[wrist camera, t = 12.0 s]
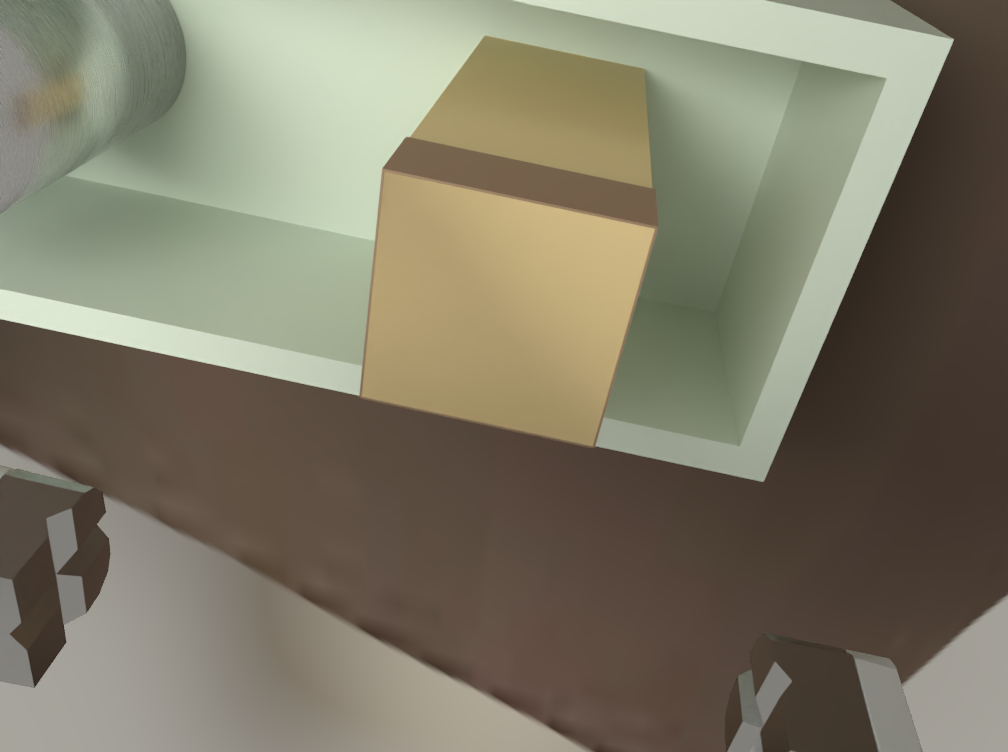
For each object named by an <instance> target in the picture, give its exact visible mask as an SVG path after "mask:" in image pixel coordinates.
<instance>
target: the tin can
mask: <svg viewBox="0 0 1008 752" xmlns="http://www.w3.org/2000/svg"><path fill="white" fill-rule="evenodd" d="M185 72H186V47H185V41H184V36H183V31H182V28H181V25H180V22H179V19H178V17H177V14H176V12H175V10H174V8H173V6H172V4H171V2H170V0H0V214H1V213H3V212H5V211H6V210H8V209H10V208H11V207H13V206H15V205H16V204H18V203H20V202H21V201H23V200H25V199H26V198H28V197H30V196H31V195H33V194H35V193H37V192H38V191H40V190H42V189H43V188H45V187H47V186H48V185H50V184H52V183H53V182H55V181H57V180H58V179H60V178H62V177H63V176H65V175H67V174H68V173H70V172H72V171H73V170H75V169H77V168H78V167H80V166H82V165H84V164H85V163H87V162H89V161H90V160H92V159H94V158H95V157H97V156H99V155H100V154H102V153H104V152H105V151H107V150H109V149H110V148H112V147H114V146H115V145H117V144H119V143H120V142H122V141H124V140H126V139H127V138H129V137H131V136H132V135H134V134H136V133H137V132H139V131H141V130H142V129H144V128H146V127H147V126H149V125H151V124H152V123H154V122H156V121H157V120H158V119H160V118H161V117H163V116H164V115H165V114H166V113H167V112H168V111H169V110H170V108H171V107H172V106H173V104H174V103H175V101H176V100H177V98H178V96H179V94H180V92H181V89H182V85H183V82H184V78H185Z"/></svg>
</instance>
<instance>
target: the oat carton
mask: <svg viewBox="0 0 1008 752" xmlns="http://www.w3.org/2000/svg"><path fill="white" fill-rule="evenodd" d="M657 230H658V214H657V200H656V189H652V176H651V161H650V146H649V131H648V116H647V101H646V86H645V71H644V69H643V68H638V67H634V66H629V65H624V64H619V63H615V62H610V61H605V60H600V59H595V58H591V57H586V56H581V55H576V54H572V53H567V52H562V51H557V50H552V49H548V48H543V47H538V46H533V45H529V44H524V43H519V42H514V41H509V40H505V39H500V38H495V37H490V36H486V35H485V36H484V37H483V39H482V40H481V41H480V43H479V44H478V45H477V47H476V48H475V49H474V51H473V52H472V54H471V55H470V56H469V58H468V59H467V60H466V62H465V63H464V64H463V66H462V67H461V68H460V70H459V71H458V73H457V74H456V75H455V77H454V78H453V79H452V81H451V82H450V83H449V85H448V86H447V88H446V89H445V90H444V92H443V93H442V94H441V96H440V97H439V98H438V100H437V101H436V102H435V104H434V105H433V107H432V108H431V109H430V111H429V112H428V113H427V115H426V116H425V117H424V119H423V120H422V121H421V123H420V124H419V126H418V127H417V128H416V130H415V131H414V132H413V134H412V135H411V136H410V137H405V139H404V140H403V141H402V143H401V144H400V145H399V147H398V148H397V149H396V151H395V152H394V153H393V155H392V156H391V157H390V159H389V160H388V161H387V163H386V164H385V165H384V167H383V168H382V175H381V185H380V195H379V205H378V215H377V225H376V235H375V245H374V255H373V264H372V274H371V284H370V294H369V304H368V314H367V324H366V334H365V344H364V354H363V364H362V374H361V384H360V393H359V398H361V399H365V400H370V401H375V402H379V403H384V404H389V405H393V406H398V407H403V408H407V409H412V410H417V411H421V412H426V413H431V414H435V415H440V416H445V417H449V418H454V419H458V420H463V421H468V422H472V423H477V424H482V425H486V426H491V427H496V428H500V429H505V430H510V431H514V432H519V433H524V434H528V435H533V436H538V437H542V438H547V439H552V440H556V441H561V442H566V443H570V444H575V445H580V446H584V447H589V448H594V449H595V445H596V442H597V438H598V435H599V431H600V428H601V424H602V421H603V417H604V414H605V411H606V407H607V404H608V400H609V397H610V393H611V390H612V386H613V383H614V379H615V376H616V372H617V369H618V365H619V362H620V359H621V355H622V352H623V348H624V345H625V341H626V338H627V334H628V331H629V327H630V324H631V320H632V317H633V313H634V310H635V307H636V303H637V300H638V296H639V293H640V289H641V286H642V282H643V279H644V275H645V272H646V268H647V265H648V262H649V258H650V255H651V251H652V248H653V244H654V241H655V237H656V234H657Z"/></svg>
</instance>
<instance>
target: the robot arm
mask: <svg viewBox="0 0 1008 752" xmlns="http://www.w3.org/2000/svg"><path fill="white" fill-rule="evenodd" d="M105 513H106V510H105V504H104V498H103V492H102V491H100V490H98V489H96V488H94V487H89V486H85V485H81V484H77V483H73V482H69V481H65V480H61V479H57V478H53V477H48V476H44V475H40V474H36V473H31V472H28V471H24V470H19V469H12V468H9V467H4V466H0V681H2V682H7V683H12V684H17V685H22V686H28V687H33V688H34V687H35V686H36V685H37V683H38V682H39V680H40V679H41V678H42V676H43V675H44V673H45V672H46V670H47V669H48V668H49V666H50V665H51V663H52V662H53V661H54V659H55V658H56V656H57V655H58V653H59V652H60V651H61V649H62V648H63V646H64V645H65V643H66V638H65V630H64V624H66V623H68V622H70V621H72V620H74V619H76V618H78V617H80V616H82V615H84V614H86V613H87V611H88V610H89V608H90V607H91V605H92V604H93V602H94V601H95V599H96V598H97V596H98V595H99V593H100V590H101V587H102V585H103V583H104V580H105V577H106V575H107V572H108V567H109V559H110V545H109V538H108V537H107V536H106V535H105V534H104V532H103V531H102V530H101V529H100V528H99V527H98V525H97V523H98V522H99V520H100V519H101V518H102V516H103V515H104V514H105ZM750 659H751V667H752V669H751V670H749V671H747V672H745V673H743V674H741V675H739V676H738V677H737V679H736V681H735V683H734V686H733V688H732V690H731V692H730V695H729V700H728V705H727V710H726V715H725V745H726V752H922V748H921V745H920V742H919V739H918V736H917V733H916V729H915V726H914V723H913V720H912V717H911V714H910V710H909V707H908V704H907V701H906V698H905V694H904V691H903V688H902V685H901V682H900V679H899V676H898V672H897V669H896V666H895V665H894V664H893V663H892V662H891V660H890V659H889V658H884V657H879V656H875V655H870V654H865V653H860V652H855V651H851V650H843V649H842V648H837V647H832V646H827V645H822V644H818V643H813V642H808V641H803V640H798V639H793V638H789V637H784V636H779V635H774V634H769V633H763V634H762V635H760V636H759V637H758V638H757V639H756V641H755V643H754V645H753V647H752V649H751V651H750Z"/></svg>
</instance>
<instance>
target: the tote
mask: <svg viewBox="0 0 1008 752" xmlns="http://www.w3.org/2000/svg"><path fill="white" fill-rule="evenodd" d="M170 2H171V4H172V6H173V8H174V10H175V12H176V14H177V17H178V19H179V22H180V25H181V28H182V31H183V36H184V41H185V47H186V72H185V78H184V82H183V85H182V89H181V92H180V94H179V96H178V98H177V100H176V101H175V103H174V104H173V106H172V107H171V108H170V110H169V111H168V112H167V113H166V114H165V115H164V116H163V117H161V118H160V119H158V120H157V121H156V122H154V123H152V124H151V125H149V126H147V127H146V128H144V129H142V130H141V131H139V132H137V133H136V134H134V135H132V136H131V137H129V138H127V139H126V140H124V141H122V142H120V143H119V144H117V145H115V146H114V147H112V148H110V149H109V150H107V151H105V152H104V153H102V154H100V155H99V156H97V157H95V158H94V159H92V160H90V161H89V162H87V163H85V164H84V165H82V166H80V167H78V168H77V169H75V170H73V171H72V172H70V173H68V174H67V175H65V176H63V177H62V178H60V179H58V180H57V181H55V182H53V183H52V184H50V185H48V186H47V187H45V188H43V189H42V190H40V191H38V192H37V193H35V194H33V195H31V196H30V197H28V198H26V199H25V200H23V201H21V202H20V203H18V204H16V205H15V206H13V207H11V208H10V209H8V210H6V211H5V212H3V213H1V214H0V319H3V320H8V321H12V322H17V323H22V324H26V325H31V326H36V327H40V328H45V329H50V330H54V331H59V332H64V333H68V334H73V335H78V336H82V337H87V338H92V339H96V340H101V341H106V342H111V343H115V344H120V345H125V346H129V347H134V348H139V349H143V350H148V351H153V352H157V353H162V354H167V355H171V356H176V357H181V358H185V359H190V360H195V361H199V362H204V363H209V364H214V365H218V366H223V367H228V368H232V369H237V370H242V371H246V372H251V373H256V374H260V375H265V376H270V377H274V378H279V379H284V380H288V381H293V382H298V383H302V384H307V385H312V386H316V387H321V388H326V389H331V390H335V391H340V392H345V393H349V394H354V395H359V393H360V384H361V374H362V364H363V354H364V344H365V334H366V324H367V314H368V304H369V294H370V284H371V274H372V264H373V255H374V245H375V235H376V225H377V215H378V205H379V195H380V185H381V175H382V168H383V167H384V165H385V164H386V163H387V161H388V160H389V159H390V157H391V156H392V155H393V153H394V152H395V151H396V149H397V148H398V147H399V145H400V144H401V143H402V141H403V140H404V139H405V137H410V136H411V135H412V134H413V132H414V131H415V130H416V128H417V127H418V126H419V124H420V123H421V121H422V120H423V119H424V117H425V116H426V115H427V113H428V112H429V111H430V109H431V108H432V107H433V105H434V104H435V102H436V101H437V100H438V98H439V97H440V96H441V94H442V93H443V92H444V90H445V89H446V88H447V86H448V85H449V83H450V82H451V81H452V79H453V78H454V77H455V75H456V74H457V73H458V71H459V70H460V68H461V67H462V66H463V64H464V63H465V62H466V60H467V59H468V58H469V56H470V55H471V54H472V52H473V51H474V49H475V48H476V47H477V45H478V44H479V43H480V41H481V40H482V39H483V37H484V36H485V35H486V36H490V37H495V38H500V39H505V40H509V41H514V42H519V43H524V44H529V45H533V46H538V47H543V48H548V49H552V50H557V51H562V52H567V53H572V54H576V55H581V56H586V57H591V58H595V59H600V60H605V61H610V62H615V63H619V64H624V65H629V66H634V67H638V68H643V69H644V71H645V86H646V101H647V116H648V131H649V146H650V161H651V176H652V189H656V200H657V214H658V230H657V234H656V237H655V241H654V244H653V248H652V251H651V255H650V258H649V262H648V265H647V268H646V272H645V275H644V279H643V282H642V286H641V289H640V293H639V296H638V300H637V303H636V307H635V310H634V313H633V317H632V320H631V324H630V327H629V331H628V334H627V338H626V341H625V345H624V348H623V352H622V355H621V359H620V362H619V365H618V369H617V372H616V376H615V379H614V383H613V386H612V390H611V393H610V397H609V400H608V404H607V407H606V411H605V414H604V417H603V421H602V424H601V428H600V431H599V435H598V438H597V442H596V445H595V446H597V447H602V448H607V449H611V450H616V451H621V452H625V453H630V454H635V455H639V456H644V457H649V458H653V459H658V460H663V461H668V462H672V463H677V464H682V465H686V466H691V467H696V468H700V469H705V470H710V471H714V472H719V473H724V474H728V475H733V476H738V477H742V478H747V479H752V480H756V481H761V482H764V480H765V478H766V475H767V473H768V471H769V468H770V466H771V464H772V461H773V459H774V457H775V454H776V452H777V450H778V447H779V445H780V443H781V440H782V438H783V436H784V433H785V431H786V429H787V427H788V424H789V422H790V420H791V417H792V415H793V413H794V410H795V408H796V406H797V403H798V401H799V399H800V396H801V394H802V392H803V389H804V387H805V385H806V382H807V380H808V378H809V375H810V373H811V371H812V368H813V366H814V364H815V361H816V359H817V357H818V354H819V352H820V350H821V348H822V345H823V343H824V341H825V338H826V336H827V334H828V331H829V329H830V327H831V324H832V322H833V320H834V317H835V315H836V313H837V310H838V308H839V306H840V303H841V301H842V299H843V296H844V294H845V292H846V289H847V287H848V285H849V282H850V280H851V278H852V275H853V273H854V271H855V269H856V266H857V264H858V262H859V259H860V257H861V255H862V252H863V250H864V248H865V245H866V243H867V241H868V238H869V236H870V234H871V231H872V229H873V227H874V224H875V222H876V220H877V217H878V215H879V213H880V210H881V208H882V206H883V203H884V201H885V199H886V196H887V194H888V192H889V190H890V187H891V185H892V183H893V180H894V178H895V176H896V173H897V171H898V169H899V166H900V164H901V162H902V159H903V157H904V155H905V152H906V150H907V148H908V145H909V143H910V141H911V138H912V136H913V134H914V131H915V129H916V127H917V124H918V122H919V120H920V117H921V115H922V113H923V111H924V108H925V106H926V104H927V101H928V99H929V97H930V94H931V92H932V90H933V87H934V85H935V83H936V80H937V78H938V76H939V73H940V71H941V69H942V66H943V64H944V62H945V59H946V57H947V55H948V52H949V50H950V48H951V45H952V43H953V41H954V39H952V38H951V37H949V36H948V35H946V34H944V33H943V32H941V31H939V30H938V29H936V28H935V27H933V26H931V25H930V24H928V23H926V22H925V21H923V20H922V19H920V18H918V17H917V16H915V15H913V14H912V13H910V12H909V11H907V10H905V9H904V8H902V7H900V6H899V5H897V4H896V3H894V2H892V1H891V0H170Z"/></svg>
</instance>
